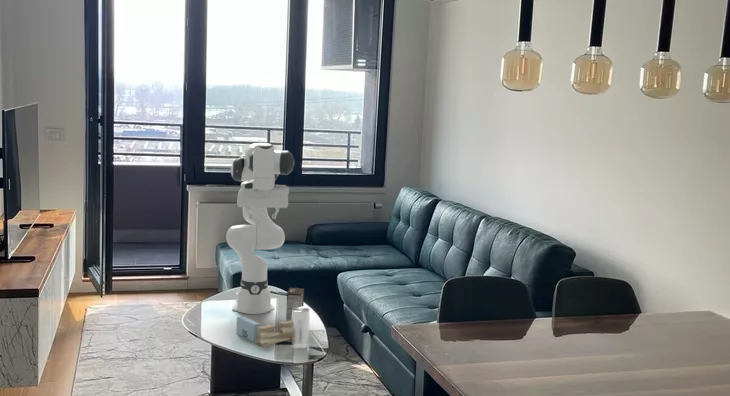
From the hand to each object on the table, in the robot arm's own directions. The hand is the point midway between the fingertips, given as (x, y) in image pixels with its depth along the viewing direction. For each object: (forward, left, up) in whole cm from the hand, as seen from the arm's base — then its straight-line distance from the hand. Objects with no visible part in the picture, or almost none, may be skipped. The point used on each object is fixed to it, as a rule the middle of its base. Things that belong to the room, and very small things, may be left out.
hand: (262, 218), depth 277 cm
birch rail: (+12, +6, -47) cm, 49 cm away
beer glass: (+19, +14, -47) cm, 53 cm away
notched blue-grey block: (+6, -5, -47) cm, 48 cm away
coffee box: (-4, +15, -47) cm, 50 cm away
